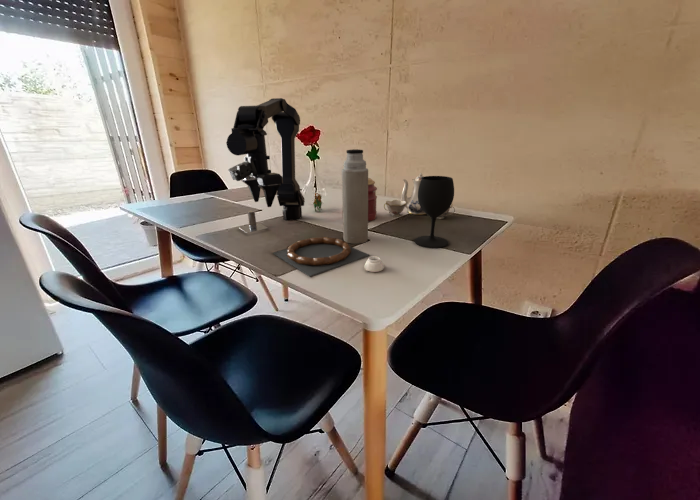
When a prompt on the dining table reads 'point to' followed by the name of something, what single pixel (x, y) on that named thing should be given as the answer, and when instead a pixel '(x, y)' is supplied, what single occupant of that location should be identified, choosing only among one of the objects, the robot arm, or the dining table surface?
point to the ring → (318, 261)
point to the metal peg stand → (252, 224)
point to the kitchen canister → (371, 200)
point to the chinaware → (410, 201)
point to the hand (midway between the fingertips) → (262, 204)
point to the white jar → (374, 264)
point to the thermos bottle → (355, 198)
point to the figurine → (317, 202)
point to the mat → (320, 252)
